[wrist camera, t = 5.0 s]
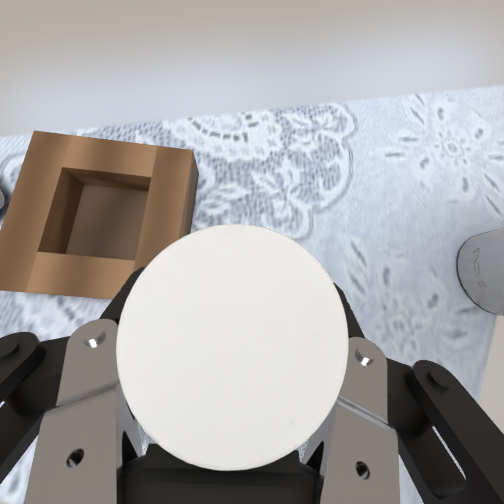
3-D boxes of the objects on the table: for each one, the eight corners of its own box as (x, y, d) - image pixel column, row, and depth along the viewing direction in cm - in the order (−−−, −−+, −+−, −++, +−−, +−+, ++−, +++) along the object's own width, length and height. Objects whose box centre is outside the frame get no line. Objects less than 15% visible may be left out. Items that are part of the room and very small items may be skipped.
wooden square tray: (198, 173, 25) (192, 150, 21) (179, 303, 22) (168, 303, 18) (66, 158, 24) (34, 130, 20) (27, 291, 21) (-20, 288, 17)
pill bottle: (283, 359, 15) (409, 523, 4) (187, 360, 14) (36, 544, 4) (281, 265, 16) (372, 195, 5) (192, 264, 16) (94, 185, 5)
